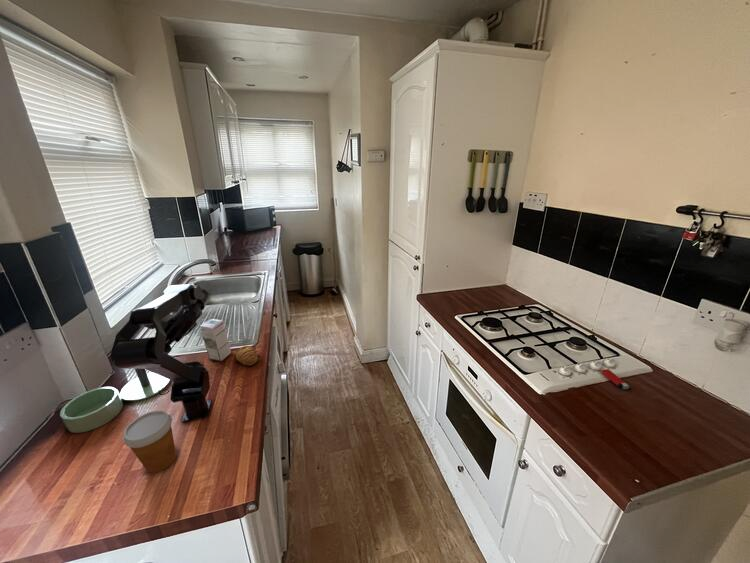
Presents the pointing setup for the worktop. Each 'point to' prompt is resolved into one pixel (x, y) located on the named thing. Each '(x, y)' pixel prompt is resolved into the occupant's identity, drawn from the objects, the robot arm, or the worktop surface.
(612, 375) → the lighter
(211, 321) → the syrup box
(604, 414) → the worktop surface
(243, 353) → the pastry
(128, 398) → the lid
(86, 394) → the pot
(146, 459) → the disposable coffee cup
